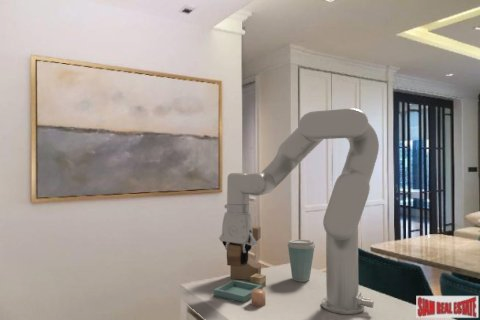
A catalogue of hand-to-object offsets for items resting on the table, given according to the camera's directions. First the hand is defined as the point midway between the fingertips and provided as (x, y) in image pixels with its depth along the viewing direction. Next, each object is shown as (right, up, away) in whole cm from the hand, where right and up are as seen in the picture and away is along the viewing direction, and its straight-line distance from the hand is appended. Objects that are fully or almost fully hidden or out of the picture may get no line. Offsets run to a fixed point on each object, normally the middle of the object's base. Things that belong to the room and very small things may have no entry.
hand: (237, 261), depth 118 cm
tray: (+1, -11, 0) cm, 11 cm away
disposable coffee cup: (+25, -11, +15) cm, 31 cm away
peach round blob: (+7, -11, -9) cm, 16 cm away
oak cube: (+8, -11, +7) cm, 15 cm away
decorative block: (+3, -12, +17) cm, 21 cm away
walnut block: (0, -1, 0) cm, 1 cm away
